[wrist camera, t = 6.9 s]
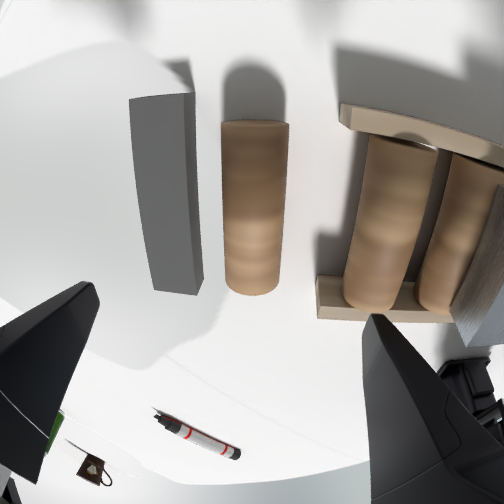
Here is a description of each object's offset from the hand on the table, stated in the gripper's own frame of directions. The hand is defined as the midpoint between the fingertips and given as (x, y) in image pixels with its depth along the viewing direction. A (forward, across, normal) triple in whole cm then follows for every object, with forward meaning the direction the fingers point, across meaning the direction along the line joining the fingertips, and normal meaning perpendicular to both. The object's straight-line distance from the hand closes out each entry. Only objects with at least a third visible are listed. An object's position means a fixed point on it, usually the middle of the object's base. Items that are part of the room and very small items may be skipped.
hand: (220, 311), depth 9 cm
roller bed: (+9, -15, 0) cm, 17 cm away
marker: (+10, +7, +35) cm, 37 cm away
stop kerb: (+9, +5, 0) cm, 10 cm away
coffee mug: (+9, +50, +92) cm, 105 cm away
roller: (+8, 0, 0) cm, 8 cm away
